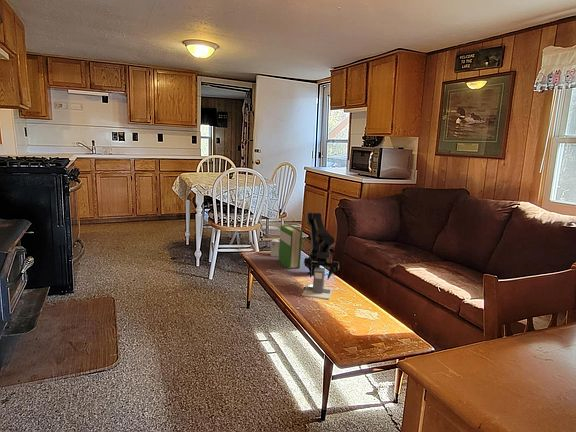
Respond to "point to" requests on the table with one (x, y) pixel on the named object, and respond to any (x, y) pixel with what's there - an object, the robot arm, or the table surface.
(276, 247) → the light bulb box
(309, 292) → the board
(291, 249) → the hardback book
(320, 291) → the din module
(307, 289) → the din rail
